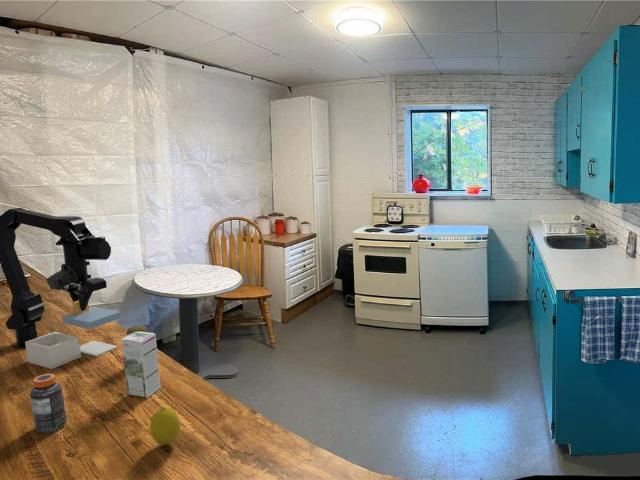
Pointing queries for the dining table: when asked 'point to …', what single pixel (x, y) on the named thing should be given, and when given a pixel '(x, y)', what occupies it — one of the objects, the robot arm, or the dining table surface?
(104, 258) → the robot arm
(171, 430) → the lemon
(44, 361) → the parts tub
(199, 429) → the dining table surface
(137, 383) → the syrup box
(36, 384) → the pill bottle
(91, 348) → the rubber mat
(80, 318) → the lid
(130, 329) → the cork
